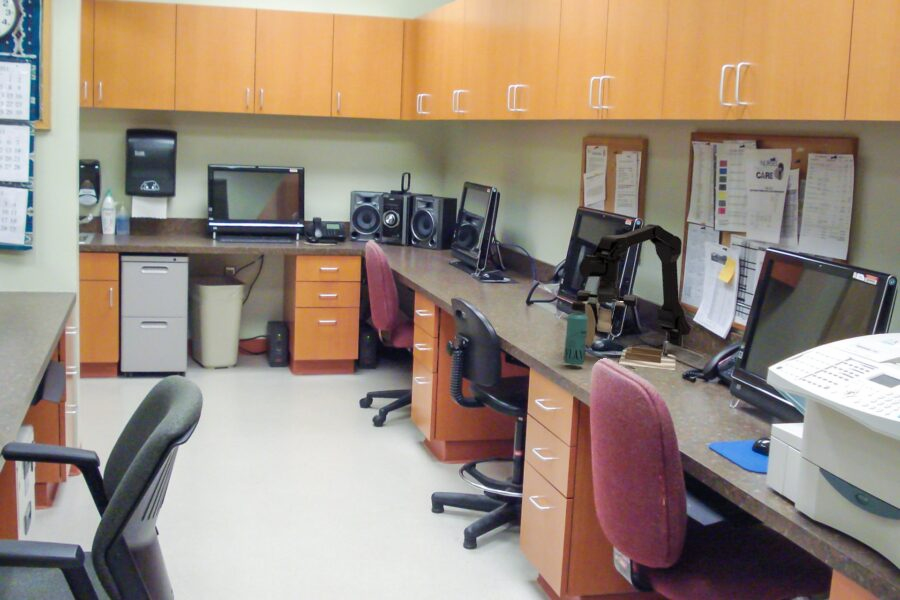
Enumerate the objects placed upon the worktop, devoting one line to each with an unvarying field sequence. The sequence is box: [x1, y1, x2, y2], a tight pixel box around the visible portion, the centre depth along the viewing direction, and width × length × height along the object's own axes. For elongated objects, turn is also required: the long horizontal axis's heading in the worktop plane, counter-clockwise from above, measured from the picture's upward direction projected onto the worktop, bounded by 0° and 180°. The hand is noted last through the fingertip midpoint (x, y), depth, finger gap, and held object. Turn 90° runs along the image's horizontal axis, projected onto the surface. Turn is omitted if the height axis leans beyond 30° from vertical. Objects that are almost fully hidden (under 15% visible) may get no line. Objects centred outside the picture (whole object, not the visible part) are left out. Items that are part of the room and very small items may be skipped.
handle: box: [582, 300, 601, 349], centre depth 326 cm, size 5×6×15 cm
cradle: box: [618, 345, 677, 371], centre depth 309 cm, size 22×17×3 cm
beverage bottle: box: [563, 301, 588, 366], centre depth 296 cm, size 6×7×20 cm
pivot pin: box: [596, 308, 614, 333], centre depth 311 cm, size 4×4×6 cm
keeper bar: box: [662, 340, 705, 367], centre depth 307 cm, size 21×2×4 cm, turn 21°
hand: (604, 324), depth 311 cm, fingers closed on pivot pin, 4 cm apart
